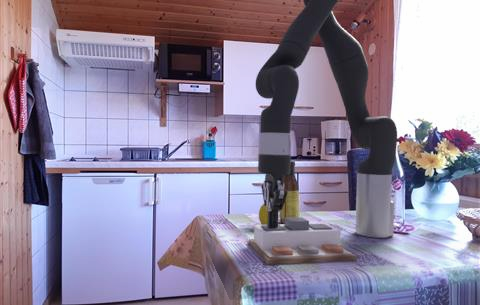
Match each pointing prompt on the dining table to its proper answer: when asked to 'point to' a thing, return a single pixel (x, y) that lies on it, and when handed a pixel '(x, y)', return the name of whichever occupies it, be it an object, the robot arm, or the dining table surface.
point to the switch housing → (295, 237)
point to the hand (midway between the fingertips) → (272, 226)
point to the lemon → (263, 215)
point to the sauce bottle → (290, 195)
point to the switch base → (303, 254)
